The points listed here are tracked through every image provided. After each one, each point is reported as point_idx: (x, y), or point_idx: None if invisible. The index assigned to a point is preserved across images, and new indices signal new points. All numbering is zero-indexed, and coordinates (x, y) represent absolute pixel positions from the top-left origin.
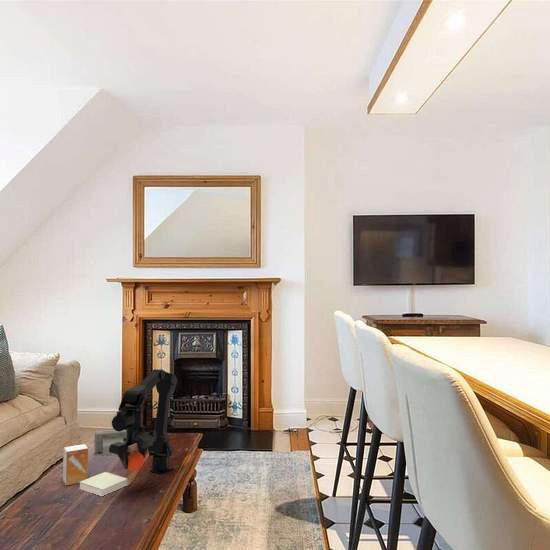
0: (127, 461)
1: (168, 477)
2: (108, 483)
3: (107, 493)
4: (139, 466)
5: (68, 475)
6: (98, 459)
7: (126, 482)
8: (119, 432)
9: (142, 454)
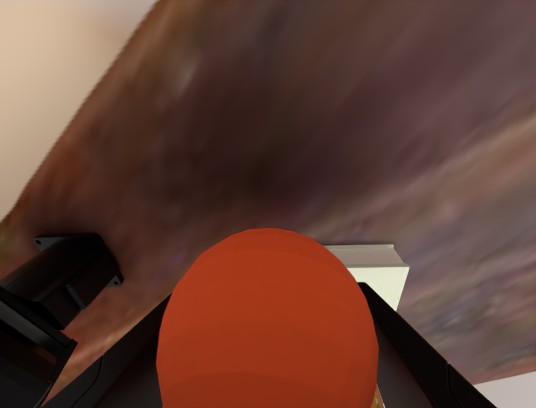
0: (411, 355)
1: (81, 183)
2: None
3: (364, 250)
4: (275, 232)
5: (376, 401)
6: None
7: None
8: None
9: (141, 367)
